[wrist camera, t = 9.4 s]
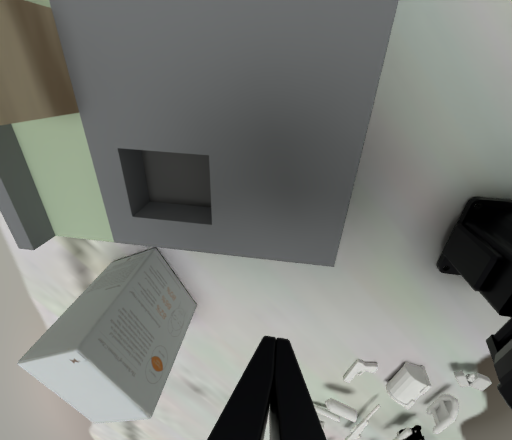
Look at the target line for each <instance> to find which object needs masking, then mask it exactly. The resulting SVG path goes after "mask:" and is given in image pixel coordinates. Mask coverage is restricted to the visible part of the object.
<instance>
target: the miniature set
mask: <svg viewBox="0 0 512 440" xmlns="http://www.w3.org/2000/svg"><path fill="white" fill-rule="evenodd" d="M377 369H378V365H377V363H373V362H372V363H368V362H363V360H359V359H357V360H356V362H355V363H354V364H353V365H352V366H351V368H350V369H349V370H348V371H347V373H346V374H345V375H344V377H343V380H344V381H346V382H348V383H350V381H351V380H352V379H353V377H354V376H355V375H361V374H362V373H363V372H364V371H366V372H372V373H375V372H376V370H377ZM359 371H361V373H358V372H359ZM454 375H455V378H456V380H457V382H458V384H459V385H460V387H468V386H471V387H473V388H475V389H478V390H480V391H483V390H484V389H486V388H487V387H488V386H489V385H490V384H491V381H490V379H489V378H488V377H486V376H484V375H482V374H479V373H475V374H467V375H468V376H467V375H466V376H465V375H464V373H463V371H456V372H454ZM468 377H469V378H468ZM431 387H432V386H431V383H430V381H429V378H428V375H427V373H426V370H425V367H424V366H418V365H414V364H411V363H408V362H405V363H404V365H403V367H402V368H401V369H400V370H399V371H398V372H397V374H396V375H395V376H394V377H393V378H392V379H391V380H390V381H388V382H387V384H386V390H387V393H388V394H389V396H390V397H391V398H392V399H393V400H394V401H395V402H397V403H398V404H400V405H402V406H404V407H405V408H406V409H409V408H410V407H411V406H412V405H413V404H414V403H415V400H416V399H417V398H418V397H419V396H420V395H424V394H425V393H426V392H427V391H428V390H429V389H430V388H431ZM325 404H326V406H327V408H328V410H329V411H328V410H326V409H324V408H322V407H320V406H317V405H314V407H315V410H316V412H318V413H320V414H322V415H324V416H326V417H328V418H330V419H333V420H335V421H337V422H339V421H340V416H342V417H344V418H346V419H348V420H350V421H352V422H356V420H357V410H356V409H354V408H351V407H349V406H347V405H345V404H343V403H341V402H339V401H336V400H334V399H332V398H330V399H328V400H327V401H325ZM379 407H380V404H378V405H377V406H376V407H375V408H374V409H373V410H372V412H371V413H370V414H369V415H368V416H367V417H366V418H364V419H363V420H362V421H361V422H360V423H359V424H356V425H355V426H354V427H353V428H352V430H350V433H351V434H350V435H348V436H347V437H346V438H345V440H356V439H358V438H360V437H361V434H360V433H361V432H362V431H363V429H364V428H365V427H366V425H367V424H368V423H369V421H368V419H369V418H370V417H371V416H372V415H373V414H374V413H375V411H376V410H377V409H378V408H379ZM330 411H331V412H330ZM332 412H333V413H332ZM458 412H459V402H458V400H457V399H456V398H455V397H453V396H452V395H450V394H443V395H441V396H440V397H439V398H438V399H437V400H436V401H434V402H433V403H432V404H431V405H430V406H429V407H428V408H427V414H432V415H433V417H434V420H435V423H436V426H435V427H433V433H435V434H439V433H440V432H442V431H443V430H444V429H445V428H446V427H448V426H449V425H450V424H451V423H453V422H454V421H455V420H456V417H457V414H458ZM334 413H335V414H334ZM320 423H321V422H320ZM321 426H322V429H324V422H322V423H321ZM420 430H421V426H419V425H415V426H414V428H412V429H411V428H409V427H407V428H405V429H402V430H400V431H399V432H397V437H396V438H395V439H394V440H425V439H424V436H422V434H421V431H420ZM352 431H353V432H352Z"/></svg>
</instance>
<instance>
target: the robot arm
mask: <svg viewBox="0 0 512 440" xmlns="http://www.w3.org/2000/svg"><path fill="white" fill-rule="evenodd" d="M477 203H479V204H478V205H477V206H476V207H474V206H475V204H477ZM444 266H446V267H444ZM443 267H444V268H443ZM437 268H438V269H439V271H440V272H441V273H447V274H456V275H462V277H463V278H464V279H465V280H466V281H467V282H468V284H469V285H470V286H471V287H472V288H473V289H474V290H475V291H479V292H480V293H481V294H482V295H483V297H484V298H485V299H486V300H487V301H488V302H489V303H490V305H491V306H492V307H493V308H494V309H495V310H496V311H497V313H498V314H499V315H501V316H508V317H510V318H511V319H510V320H509V321H508V322H507V323H506V324H505V325H504V326H503V327H502V328H501V329H500V330H499V331H498V332H497V333H496V334H495V335H491V336H490V337H489V338H488V339H487V340H486V342H487V345H488V348H489V351H490V354H491V356H492V359H493V362H494V367H495V370H496V373H497V376H498V379H499V381H500V383H499V384H498V385H497V387H498V390H499V392H500V394H501V396H502V397H503V399H504V400H505V402H506V403H507V405H508V406H509V407H510V409H511V410H512V200H506V199H494V198H483V197H475V198H472V199H471V200H469V201H468V203H467V205H466V207H465V209H464V211H463V213H462V215H461V217H460V219H459V221H458V223H457V225H456V226H455V228H454V230H453V232H452V234H451V236H450V238H449V240H448V242H447V244H446V246H445V248H444V250H443V254H442V256H441V258H440V260H439V262H438V264H437ZM269 406H270V410H269ZM268 413H269V424H270V440H326V437H325V434H324V431H323V429H322V426H321V423H320V421H319V418H318V415H317V413H316V410H315V407H314V405H313V402H312V399H311V397H310V394H309V391H308V389H307V386H306V383H305V381H304V378H303V375H302V373H301V370H300V367H299V365H298V362H297V359H296V357H295V354H294V351H293V349H292V346H291V343H290V341H289V340H288V339H284V338H277V339H276V338H275V337H270V336H264V337H263V338H262V340H261V342H260V344H259V346H258V347H257V349H256V351H255V353H254V355H253V357H252V358H251V360H250V362H249V364H248V366H247V368H246V369H245V371H244V373H243V375H242V377H241V379H240V380H239V382H238V384H237V386H236V388H235V390H234V391H233V393H232V395H231V397H230V399H229V401H228V402H227V404H226V406H225V408H224V410H223V412H222V413H221V415H220V417H219V419H218V421H217V423H216V424H215V426H214V428H213V430H212V432H211V434H210V435H209V437H208V439H207V440H263V439H264V434H265V429H266V424H267V419H268Z"/></svg>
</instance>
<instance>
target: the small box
mask: <svg viewBox="0 0 512 440" xmlns="http://www.w3.org/2000/svg"><path fill="white" fill-rule="evenodd" d="M195 309H196V304H195V302H194V301H193V299H192V298H191V297H190V295H189V294H188V292H187V291H186V290H185V288H184V287H183V285H182V284H181V283H180V281H179V280H178V278H177V277H176V276H175V274H174V273H173V271H172V270H171V268H170V267H169V266H168V264H167V263H166V262H165V260H164V259H163V257H162V256H161V255H160V253H159V252H158V250H157V249H156V248H154V249H151V250H148V251H145V252H142V253H139V254H136V255H133V256H130V257H127V258H124V259H121V260H118V261H115V262H112V263H111V264H110V265H109V266H108V267H107V268H106V269H105V270H104V271H103V272H102V273H101V274H100V275H99V276H98V277H97V278H96V279H95V280H94V281H93V283H92V284H91V285H90V286H89V287H88V288H87V289H86V290H85V291H84V292H83V293H82V294H81V295H80V296H79V297H78V298H77V299H76V301H75V302H74V303H73V304H72V305H71V306H70V307H69V308H68V309H67V310H66V311H65V312H64V313H63V314H62V315H61V316H60V318H59V319H58V320H57V321H56V322H55V323H54V324H53V325H52V326H51V327H50V328H49V329H48V330H47V331H46V332H45V333H44V334H43V335H42V337H41V338H40V339H39V340H38V341H37V342H36V343H35V344H34V345H33V346H32V347H31V348H30V349H29V351H28V352H27V353H26V354H25V355H24V356H23V357H22V358H21V359H20V360H19V362H18V363H17V364H18V365H19V366H20V367H22V368H23V369H24V370H25V371H27V372H28V373H30V374H31V375H32V376H33V377H35V378H36V379H37V380H38V381H40V382H41V383H42V384H44V385H45V386H46V387H47V388H49V389H50V390H51V391H53V392H54V393H55V394H57V395H58V396H59V397H60V398H62V399H63V400H64V401H66V402H67V403H68V404H70V405H71V406H72V407H73V408H75V409H76V410H77V411H78V412H80V413H81V414H83V415H84V416H85V417H87V418H88V419H89V420H90V421H91V422H93V423H109V422H121V421H133V420H144V419H149V418H151V417H152V415H153V412H154V410H155V407H156V405H157V402H158V400H159V398H160V395H161V393H162V390H163V388H164V385H165V383H166V380H167V378H168V375H169V373H170V371H171V368H172V366H173V363H174V361H175V358H176V356H177V353H178V351H179V348H180V346H181V343H182V341H183V339H184V336H185V334H186V331H187V329H188V326H189V324H190V321H191V319H192V316H193V314H194V311H195Z"/></svg>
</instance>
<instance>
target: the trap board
mask: <svg viewBox="0 0 512 440" xmlns="http://www.w3.org/2000/svg"><path fill="white" fill-rule="evenodd" d="M25 1H29V2H32V3H35V4H39V5H42V6H46V7H49V8H51V9H52V13H53V17H54V20H55V24H56V28H57V31H58V35H59V39H60V43H61V46H62V50H63V54H64V58H65V61H66V65H67V69H68V72H69V76H70V80H71V84H72V87H73V91H74V95H75V99H76V102H77V106H78V110H79V113H74V114H67V115H61V116H55V117H49V118H43V119H37V120H31V121H24V122H18V123H12V124H6V125H0V211H1V213H2V215H3V217H4V219H5V221H6V223H7V225H8V227H9V229H10V231H11V233H12V235H13V237H14V239H15V241H16V243H17V245H18V247H19V248H20V249H29V250H35V249H36V248H38V247H39V246H41V245H42V244H44V243H45V242H47V241H48V240H50V239H51V238H53V237H54V236H63V237H72V238H81V239H89V240H98V241H107V242H116V243H125V244H134V245H143V246H152V247H161V248H170V249H179V250H188V251H197V252H206V253H214V254H223V255H232V256H241V257H250V258H259V259H268V260H277V261H286V262H295V263H304V264H313V265H322V266H331V267H334V264H335V260H336V256H337V252H338V248H339V243H340V239H341V235H342V231H343V227H344V223H345V219H346V215H347V211H348V206H349V202H350V198H351V194H352V190H353V186H354V182H355V178H356V173H357V169H358V165H359V161H360V157H361V153H362V149H363V145H364V141H365V136H366V132H367V128H368V124H369V120H370V116H371V112H372V108H373V104H374V99H375V95H376V91H377V87H378V83H379V79H380V75H381V71H382V66H383V62H384V58H385V54H386V50H387V46H388V42H389V38H390V34H391V29H392V25H393V21H394V17H395V13H396V9H397V5H398V1H399V0H25Z"/></svg>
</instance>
